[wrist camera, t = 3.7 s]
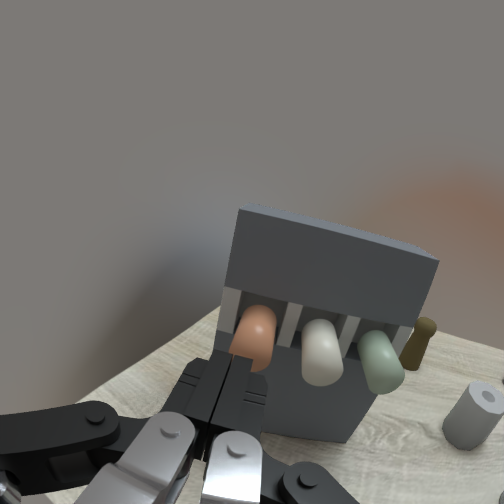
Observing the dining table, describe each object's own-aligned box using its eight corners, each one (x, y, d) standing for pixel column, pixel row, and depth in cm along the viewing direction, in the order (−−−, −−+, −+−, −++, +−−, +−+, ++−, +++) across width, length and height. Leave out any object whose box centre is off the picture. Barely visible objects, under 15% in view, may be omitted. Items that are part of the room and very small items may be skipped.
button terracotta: (265, 376, 22) (276, 343, 21) (225, 365, 22) (232, 333, 21) (272, 338, 28) (280, 309, 27) (239, 330, 28) (245, 300, 27)
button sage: (394, 395, 21) (411, 367, 20) (361, 392, 21) (378, 362, 20) (380, 359, 27) (393, 332, 26) (352, 354, 27) (364, 327, 26)
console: (345, 443, 31) (439, 260, 23) (202, 416, 33) (239, 208, 25) (342, 414, 37) (417, 246, 29) (213, 388, 38) (249, 202, 31)
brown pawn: (401, 370, 50) (424, 325, 46) (392, 354, 55) (412, 311, 52) (422, 371, 49) (445, 328, 46) (413, 356, 55) (432, 315, 52)
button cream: (334, 389, 21) (349, 358, 20) (296, 382, 22) (308, 350, 21) (329, 350, 27) (340, 322, 26) (297, 344, 27) (306, 315, 26)
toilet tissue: (494, 433, 28) (520, 399, 26) (459, 456, 26) (491, 420, 23) (471, 407, 37) (493, 374, 34) (433, 423, 34) (460, 386, 32)
